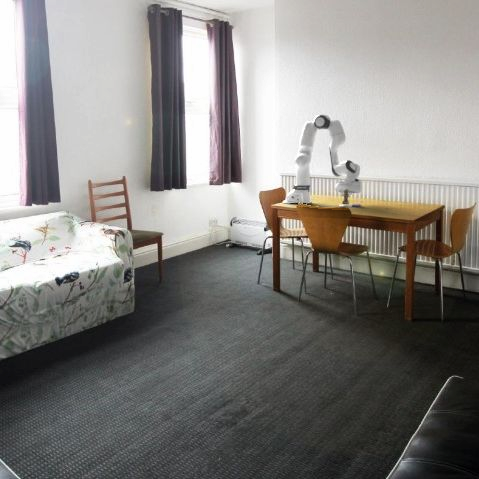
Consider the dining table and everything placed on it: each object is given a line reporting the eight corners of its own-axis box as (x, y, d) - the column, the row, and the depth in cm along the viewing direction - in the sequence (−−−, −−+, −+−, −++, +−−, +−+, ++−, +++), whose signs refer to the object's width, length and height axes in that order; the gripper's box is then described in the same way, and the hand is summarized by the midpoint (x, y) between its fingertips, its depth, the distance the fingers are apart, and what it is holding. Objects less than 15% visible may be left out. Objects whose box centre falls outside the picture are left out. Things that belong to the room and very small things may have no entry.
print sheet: (338, 206, 433) (338, 205, 433) (340, 204, 441) (340, 204, 441) (351, 206, 430) (351, 206, 430) (352, 204, 439) (352, 204, 439)
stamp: (342, 204, 434) (342, 189, 432) (343, 203, 438) (343, 188, 436) (348, 204, 433) (348, 189, 431) (348, 203, 437) (349, 188, 435)
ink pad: (351, 206, 430) (351, 205, 429) (352, 205, 437) (352, 203, 437) (359, 206, 428) (359, 205, 428) (360, 205, 436) (360, 203, 435)
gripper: (336, 179, 443) (331, 193, 437) (362, 180, 433) (357, 194, 427) (338, 184, 448) (333, 198, 442) (364, 185, 437) (359, 199, 431)
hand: (345, 196), depth 434 cm, fingers closed on stamp, 3 cm apart
